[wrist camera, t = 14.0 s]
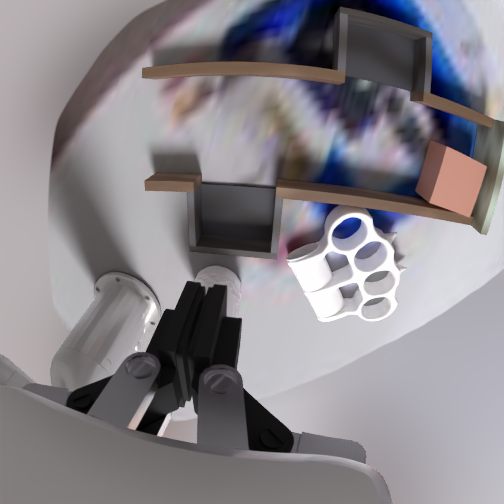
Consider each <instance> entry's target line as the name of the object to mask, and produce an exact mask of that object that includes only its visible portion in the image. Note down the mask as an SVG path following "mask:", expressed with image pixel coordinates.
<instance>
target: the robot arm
mask: <svg viewBox="0 0 504 504" xmlns="http://www.w3.org/2000/svg"><path fill="white" fill-rule="evenodd" d="M94 298H95V300H94V301H93V302H92V304H91V305H90V306H89V308H88V309H87V310H86V312H85V313H84V314H83V316H82V317H81V319H80V320H79V321H78V323H77V324H76V325H75V327H74V328H73V330H72V331H71V333H70V334H69V336H68V337H67V338H66V340H65V341H64V343H63V344H62V345H61V347H60V348H59V350H58V351H57V353H56V354H55V356H54V358H53V360H52V363H51V368H50V370H51V371H50V376H51V384H52V386H47V385H41V384H37V383H35V381H33V380H32V379H31V378H30V377H29V376H28V375H26V374H25V373H24V372H23V371H22V370H21V369H19V368H18V367H17V366H16V365H15V364H14V363H13V362H11V361H10V360H9V359H8V358H7V357H5V356H3V355H1V354H0V504H392V499H391V495H390V492H389V489H388V486H387V484H386V482H385V480H384V478H383V476H382V475H381V474H380V473H379V472H378V471H377V470H375V469H374V468H372V467H370V466H368V465H365V463H366V451H365V449H364V448H363V446H362V445H360V444H359V443H358V442H354V441H352V440H344V439H338V438H331V437H325V436H320V435H315V434H310V433H305V432H302V433H301V434H299V433H294V432H291V431H290V430H289V429H288V428H287V427H286V426H285V425H284V424H283V423H281V422H280V421H279V420H278V419H277V418H276V417H274V416H273V415H272V414H271V413H270V412H269V411H268V410H267V409H265V408H264V407H263V406H262V405H261V404H260V403H259V402H258V401H257V400H256V399H254V398H253V397H252V396H251V395H250V394H249V393H248V392H247V391H246V390H245V389H244V388H243V381H242V377H241V375H240V373H239V372H238V371H237V363H238V355H239V348H240V338H241V326H242V318H235V317H227V285H219V284H214V285H213V287H208V290H207V293H206V289H205V286H201V283H200V282H192V281H187V283H186V285H185V287H184V289H183V292H182V294H181V296H180V298H179V301H178V303H177V305H176V308H175V310H171V309H166V310H165V311H164V313H163V315H162V317H161V310H160V306H159V303H158V301H157V299H156V297H155V295H154V294H153V293H152V292H151V290H150V289H149V288H148V287H147V286H146V285H145V284H144V283H142V282H141V281H139V280H138V279H136V278H134V277H132V276H130V275H128V274H125V273H120V272H110V273H106V274H105V275H103V276H102V277H101V278H100V279H99V280H98V281H97V282H96V284H95V287H94ZM160 317H161V319H160ZM159 320H160V321H159ZM158 322H159V324H158ZM157 324H158V326H157ZM156 326H157V328H156V330H155V332H154V334H153V337H152V339H151V341H150V343H149V345H148V348H147V350H146V352H137V353H134V354H132V353H133V351H134V350H139V349H140V348H141V346H140V343H139V340H140V338H141V336H142V334H143V333H147V332H150V331H152V330H153V329H154V328H155V327H156ZM191 397H192V398H193V404H194V410H195V413H196V414H197V415H198V424H197V444H195V443H189V442H184V441H179V440H174V439H169V438H164V437H162V436H163V433H164V431H165V429H166V427H167V425H168V423H169V421H170V419H171V416H172V412H173V411H175V410H177V409H179V407H184V406H185V402H186V401H190V400H191Z"/></svg>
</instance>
